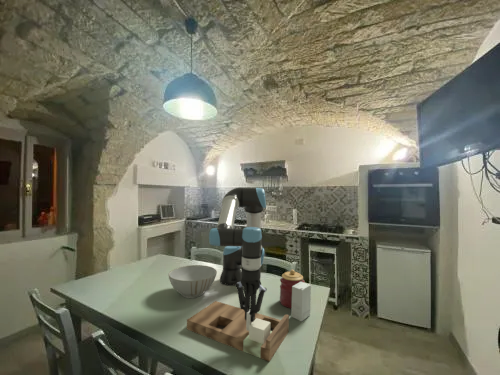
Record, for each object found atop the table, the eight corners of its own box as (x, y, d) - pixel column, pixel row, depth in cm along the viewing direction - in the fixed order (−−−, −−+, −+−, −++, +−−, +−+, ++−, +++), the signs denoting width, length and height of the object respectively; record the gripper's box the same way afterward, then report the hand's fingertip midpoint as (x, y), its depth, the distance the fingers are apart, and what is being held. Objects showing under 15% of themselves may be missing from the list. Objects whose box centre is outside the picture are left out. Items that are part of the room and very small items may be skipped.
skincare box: (300, 311, 116) (300, 280, 116) (311, 315, 112) (311, 284, 112) (290, 317, 110) (291, 285, 110) (301, 322, 106) (302, 289, 106)
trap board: (186, 329, 99) (187, 312, 99) (215, 309, 116) (215, 294, 116) (269, 361, 81) (269, 341, 81) (288, 331, 98) (288, 315, 98)
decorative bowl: (205, 307, 118) (206, 283, 118) (157, 301, 123) (158, 278, 124) (222, 286, 144) (222, 266, 144) (182, 282, 150) (182, 263, 150)
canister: (285, 310, 116) (286, 274, 117) (276, 298, 129) (276, 266, 129) (309, 307, 120) (309, 272, 120) (297, 296, 132) (297, 265, 133)
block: (248, 339, 87) (249, 325, 87) (256, 330, 92) (256, 317, 92) (263, 344, 84) (263, 330, 84) (270, 335, 89) (270, 322, 89)
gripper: (231, 267, 91) (230, 328, 90) (262, 273, 85) (260, 339, 84) (241, 262, 98) (240, 319, 97) (270, 267, 91) (268, 329, 91)
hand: (249, 328), depth 91 cm, fingers closed
